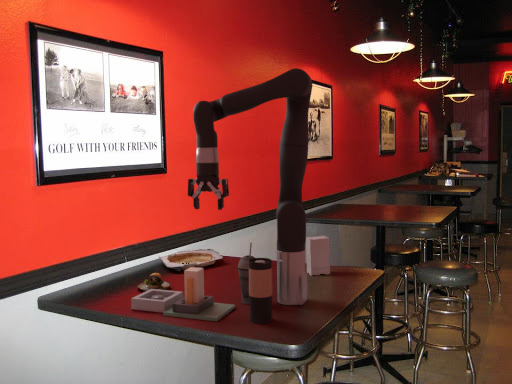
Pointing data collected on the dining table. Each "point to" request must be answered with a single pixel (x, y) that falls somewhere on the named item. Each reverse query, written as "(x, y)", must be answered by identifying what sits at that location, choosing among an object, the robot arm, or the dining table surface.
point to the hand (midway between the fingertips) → (208, 209)
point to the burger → (154, 283)
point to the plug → (194, 285)
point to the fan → (155, 300)
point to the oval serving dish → (190, 259)
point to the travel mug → (260, 290)
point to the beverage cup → (244, 276)
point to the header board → (199, 309)
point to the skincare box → (318, 255)
